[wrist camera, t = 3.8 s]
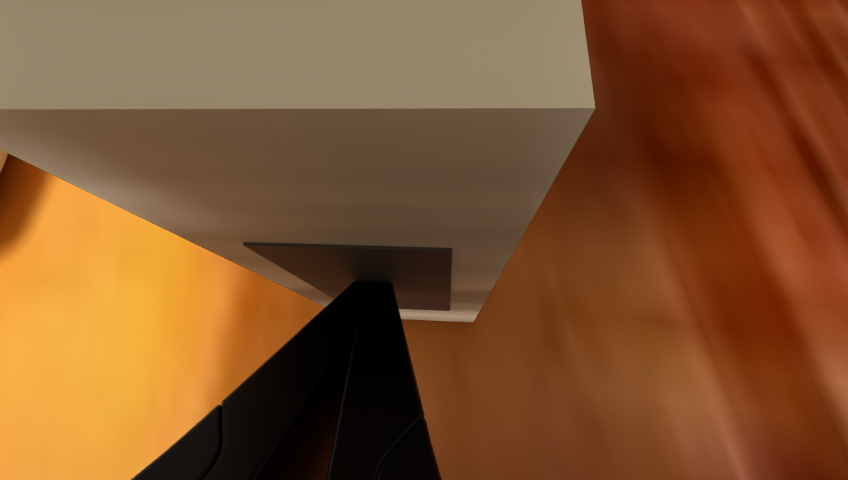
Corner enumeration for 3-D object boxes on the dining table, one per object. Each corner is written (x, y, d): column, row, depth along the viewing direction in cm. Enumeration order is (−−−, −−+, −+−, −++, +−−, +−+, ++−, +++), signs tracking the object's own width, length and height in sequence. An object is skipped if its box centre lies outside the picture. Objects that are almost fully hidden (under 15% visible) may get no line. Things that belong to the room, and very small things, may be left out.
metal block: (473, 323, 14) (594, 113, 2) (345, 317, 14) (-86, 114, 3) (474, 203, 15) (547, -258, 4) (359, 201, 16) (130, -224, 4)
